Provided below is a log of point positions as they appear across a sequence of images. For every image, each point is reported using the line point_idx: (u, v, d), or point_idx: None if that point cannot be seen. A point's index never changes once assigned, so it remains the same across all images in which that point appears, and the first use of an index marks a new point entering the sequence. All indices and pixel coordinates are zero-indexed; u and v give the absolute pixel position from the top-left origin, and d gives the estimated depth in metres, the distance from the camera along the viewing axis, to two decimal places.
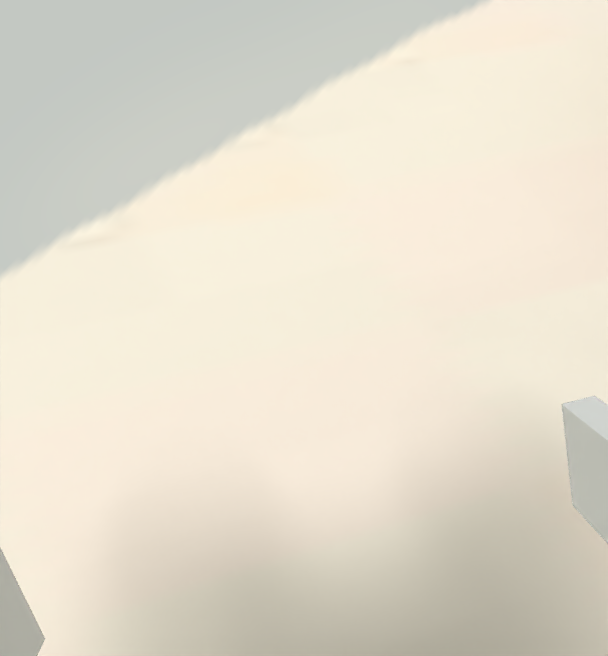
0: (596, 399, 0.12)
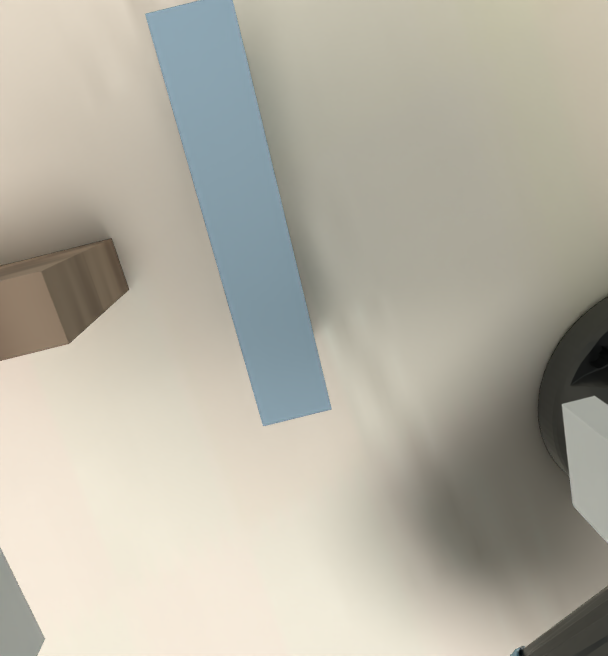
0: (596, 399, 0.12)
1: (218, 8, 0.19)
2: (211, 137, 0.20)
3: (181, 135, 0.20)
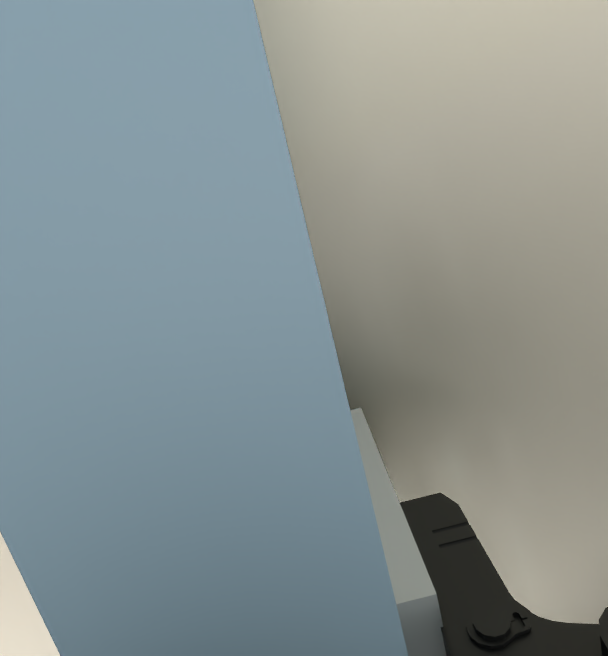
0: (360, 410, 0.14)
1: None
2: None
3: None
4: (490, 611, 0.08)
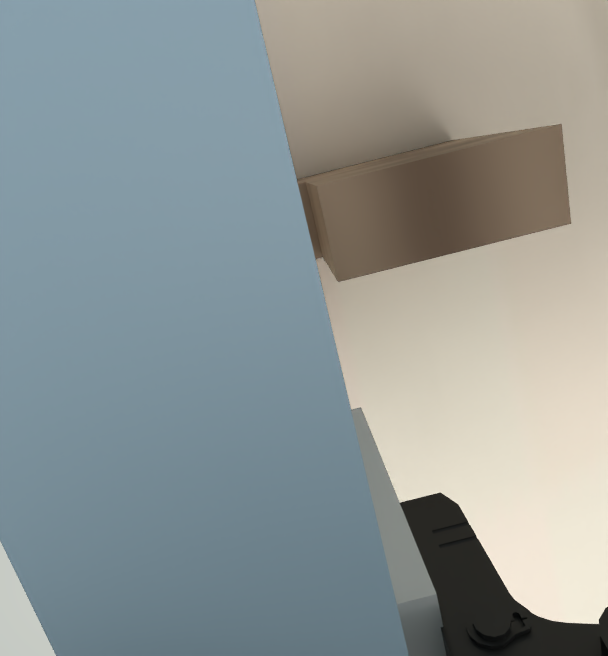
0: (360, 410, 0.14)
1: None
2: None
3: None
4: (490, 611, 0.08)
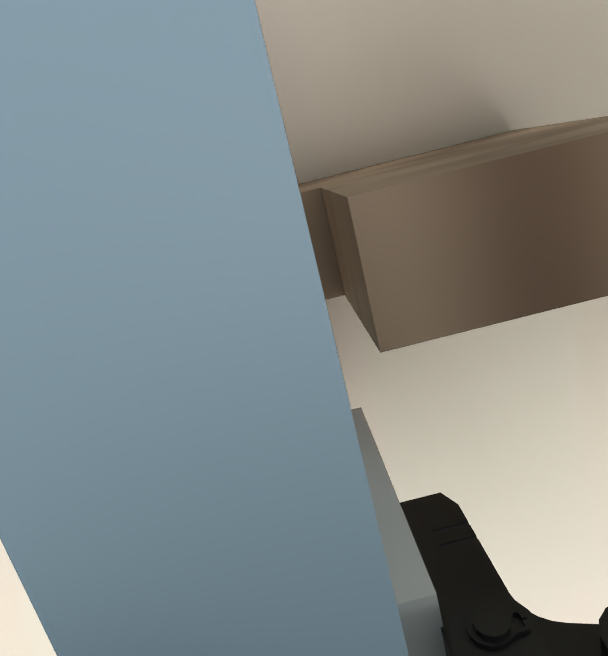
0: (360, 410, 0.14)
1: None
2: None
3: None
4: (490, 611, 0.08)
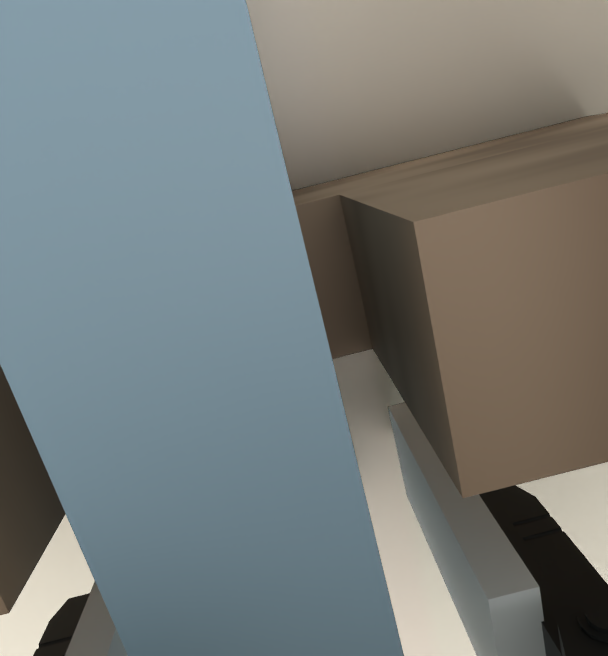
0: None
1: None
2: (3, 33, 0.04)
3: None
4: (605, 604, 0.07)
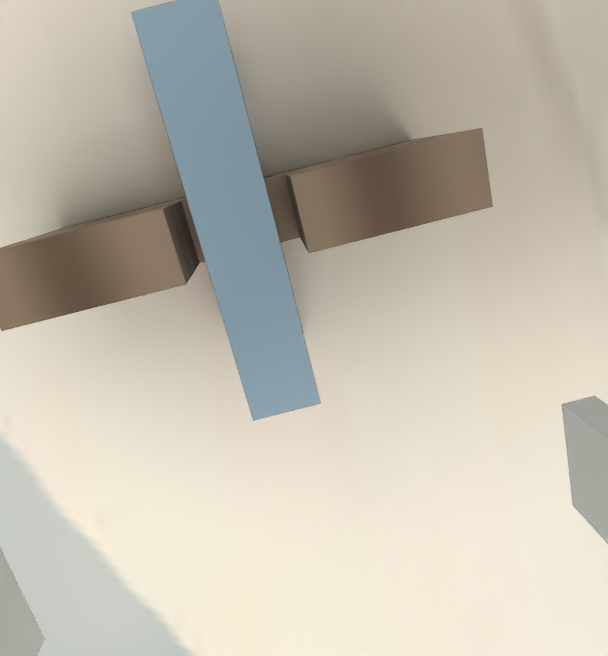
0: (596, 399, 0.12)
1: (203, 6, 0.19)
2: (198, 134, 0.20)
3: (168, 132, 0.20)
4: None
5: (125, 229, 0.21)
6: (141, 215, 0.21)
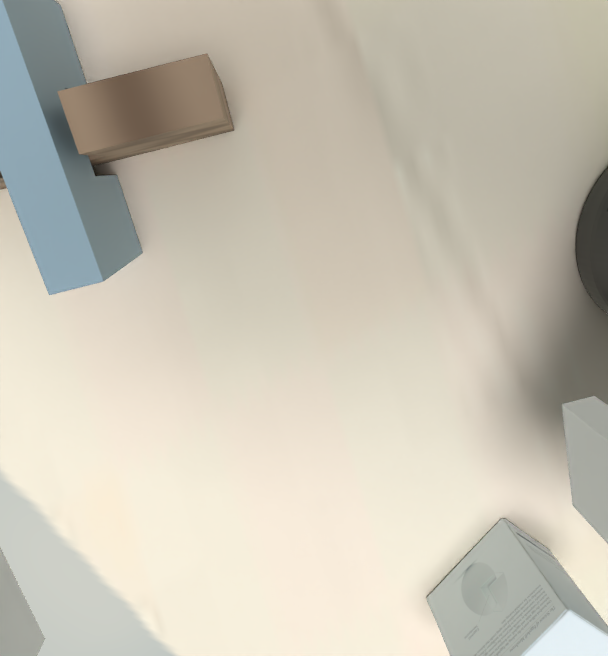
0: (596, 399, 0.12)
1: None
2: None
3: None
4: None
5: None
6: None
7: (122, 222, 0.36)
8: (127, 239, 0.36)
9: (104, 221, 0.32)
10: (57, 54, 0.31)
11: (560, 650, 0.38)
